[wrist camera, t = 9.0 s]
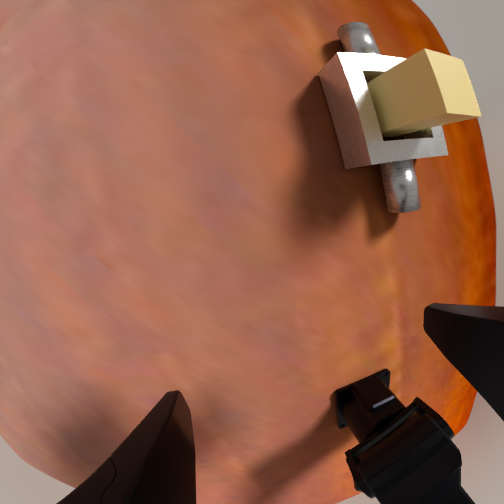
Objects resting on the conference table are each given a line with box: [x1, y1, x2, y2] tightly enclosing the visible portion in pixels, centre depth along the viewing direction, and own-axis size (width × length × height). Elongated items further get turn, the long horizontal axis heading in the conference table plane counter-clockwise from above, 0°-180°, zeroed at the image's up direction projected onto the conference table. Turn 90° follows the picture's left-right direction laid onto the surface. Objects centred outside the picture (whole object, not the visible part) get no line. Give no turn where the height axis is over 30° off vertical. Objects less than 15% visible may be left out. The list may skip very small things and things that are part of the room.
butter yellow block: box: [367, 49, 481, 137], centre depth 15 cm, size 4×4×10 cm
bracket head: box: [318, 22, 448, 213], centre depth 18 cm, size 16×8×4 cm, turn 14°
